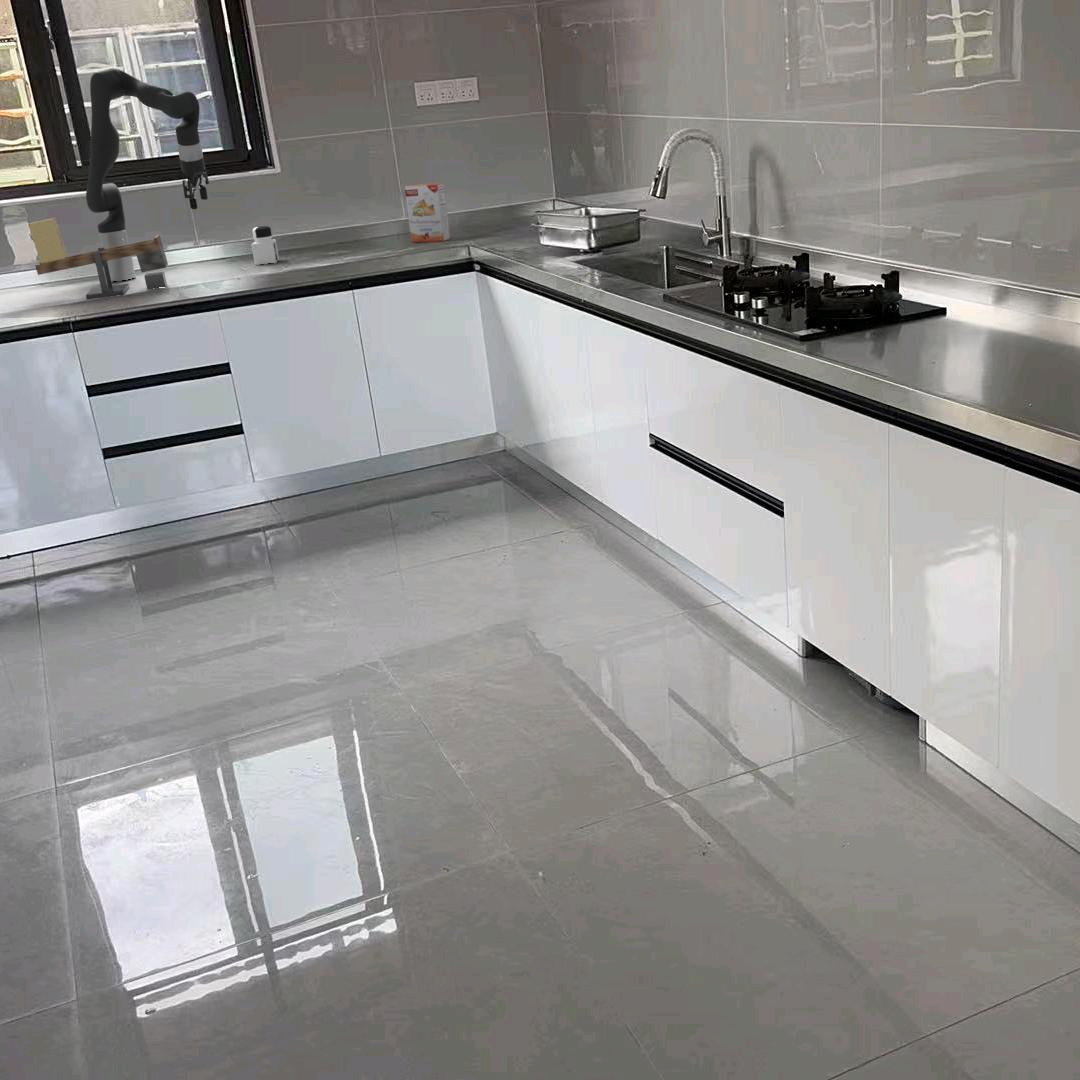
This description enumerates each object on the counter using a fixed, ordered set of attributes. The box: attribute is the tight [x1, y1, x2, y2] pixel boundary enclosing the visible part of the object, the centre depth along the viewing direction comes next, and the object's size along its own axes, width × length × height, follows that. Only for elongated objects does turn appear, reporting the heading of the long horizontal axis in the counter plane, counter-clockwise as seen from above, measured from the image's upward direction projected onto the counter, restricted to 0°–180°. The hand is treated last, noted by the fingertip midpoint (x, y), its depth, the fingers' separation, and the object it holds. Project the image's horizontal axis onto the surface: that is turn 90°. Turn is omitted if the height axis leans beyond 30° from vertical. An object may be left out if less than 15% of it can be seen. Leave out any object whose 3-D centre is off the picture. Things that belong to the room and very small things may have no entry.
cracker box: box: [404, 182, 451, 243], centre depth 454 cm, size 14×6×21 cm, turn 67°
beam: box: [35, 234, 169, 276], centre depth 403 cm, size 40×9×10 cm, turn 101°
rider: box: [27, 217, 69, 264], centre depth 398 cm, size 8×5×14 cm, turn 101°
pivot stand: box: [85, 247, 168, 300], centre depth 405 cm, size 25×16×14 cm, turn 101°
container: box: [250, 225, 280, 266], centre depth 441 cm, size 8×8×13 cm
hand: (199, 204), depth 406 cm, fingers open, 8 cm apart
